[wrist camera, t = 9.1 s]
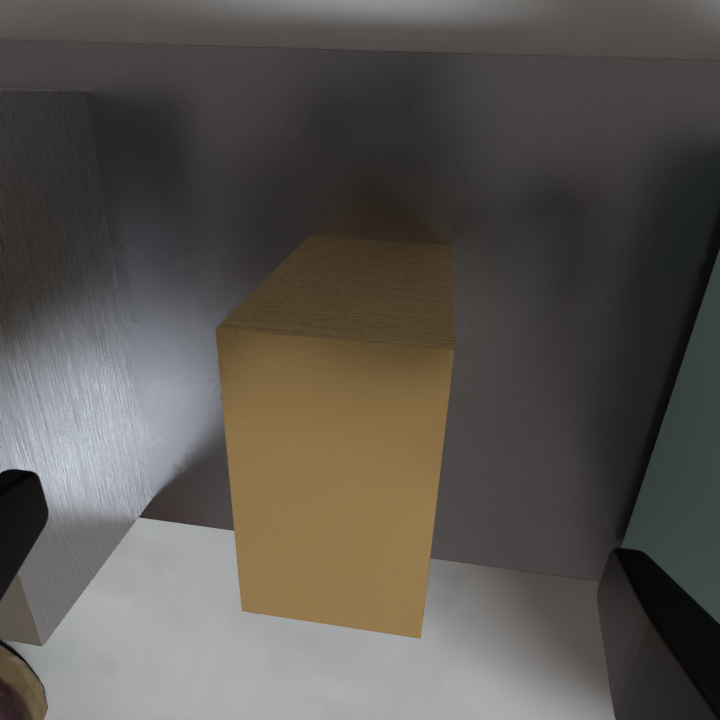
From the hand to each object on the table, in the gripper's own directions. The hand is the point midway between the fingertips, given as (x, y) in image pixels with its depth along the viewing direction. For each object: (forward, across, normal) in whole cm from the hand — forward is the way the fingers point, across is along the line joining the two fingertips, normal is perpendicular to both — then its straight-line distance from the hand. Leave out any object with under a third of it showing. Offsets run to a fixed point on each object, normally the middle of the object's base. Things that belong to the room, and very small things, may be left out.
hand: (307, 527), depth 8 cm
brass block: (+7, 0, 0) cm, 7 cm away
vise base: (+8, 0, 0) cm, 8 cm away
